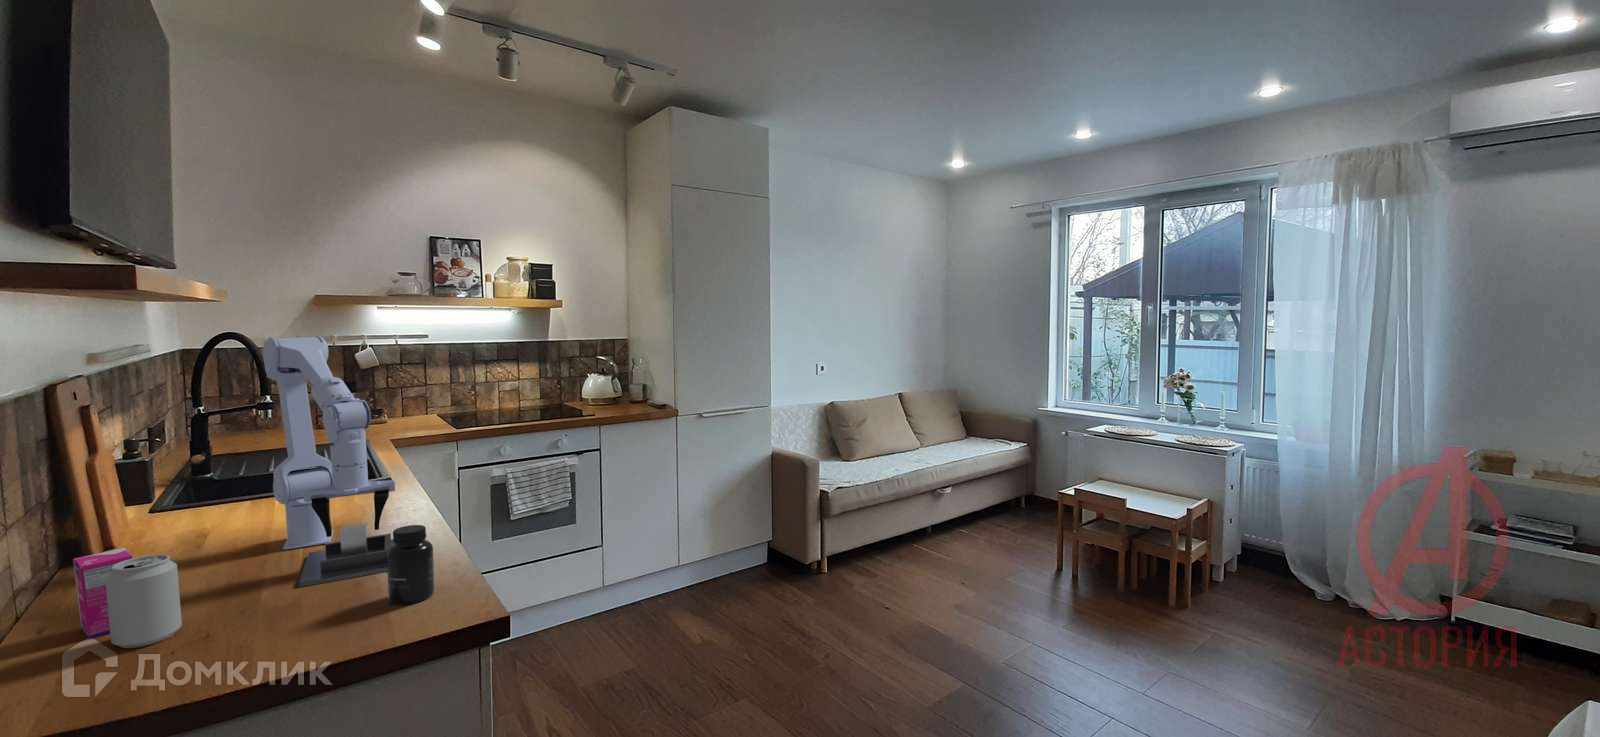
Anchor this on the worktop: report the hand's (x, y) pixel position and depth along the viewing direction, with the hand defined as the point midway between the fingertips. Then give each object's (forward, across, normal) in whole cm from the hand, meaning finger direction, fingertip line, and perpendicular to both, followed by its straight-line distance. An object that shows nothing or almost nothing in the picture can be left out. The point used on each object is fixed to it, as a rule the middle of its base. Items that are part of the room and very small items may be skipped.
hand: (353, 531), depth 127 cm
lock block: (+5, 0, 0) cm, 5 cm away
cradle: (+6, 0, 0) cm, 6 cm away
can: (+6, -25, -20) cm, 33 cm away
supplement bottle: (+6, +9, -25) cm, 27 cm away
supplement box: (+6, -31, -12) cm, 34 cm away
